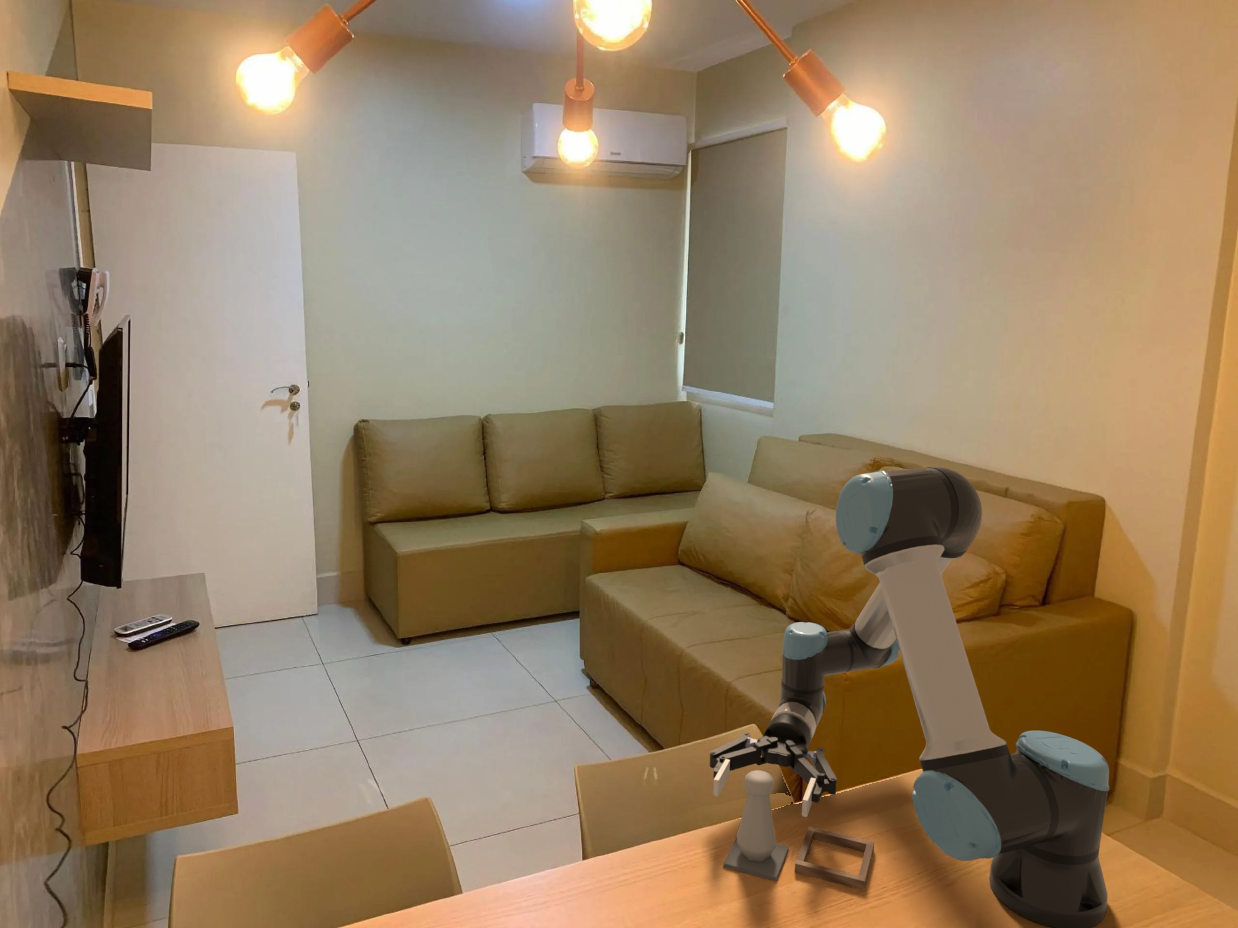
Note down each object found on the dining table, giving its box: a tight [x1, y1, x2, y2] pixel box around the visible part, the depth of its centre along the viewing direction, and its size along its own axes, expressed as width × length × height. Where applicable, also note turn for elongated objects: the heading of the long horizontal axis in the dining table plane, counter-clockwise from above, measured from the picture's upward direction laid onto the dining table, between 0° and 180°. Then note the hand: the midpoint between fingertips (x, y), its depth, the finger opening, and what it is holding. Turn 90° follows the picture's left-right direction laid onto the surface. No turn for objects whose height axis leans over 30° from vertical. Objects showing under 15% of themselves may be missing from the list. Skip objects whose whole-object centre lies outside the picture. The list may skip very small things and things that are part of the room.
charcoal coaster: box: [723, 836, 790, 882], centre depth 136 cm, size 8×8×1 cm
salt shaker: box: [736, 769, 777, 862], centre depth 135 cm, size 6×6×13 cm
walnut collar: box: [794, 825, 875, 891], centre depth 136 cm, size 10×10×2 cm
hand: (759, 797), depth 136 cm, fingers open, 13 cm apart
